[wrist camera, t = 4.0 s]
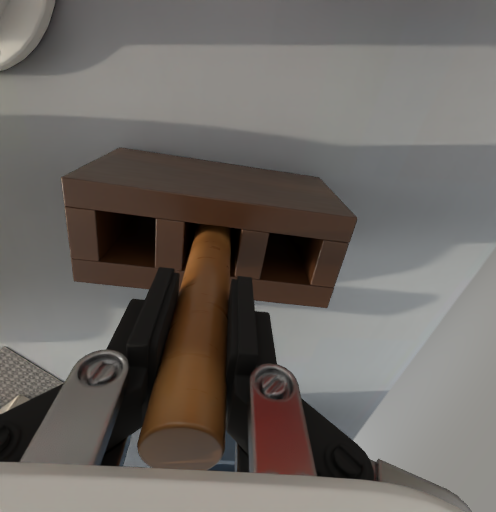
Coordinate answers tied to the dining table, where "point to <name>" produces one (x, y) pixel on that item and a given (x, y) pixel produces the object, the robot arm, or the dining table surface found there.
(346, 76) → the dining table surface
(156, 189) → the rack
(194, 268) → the stick
